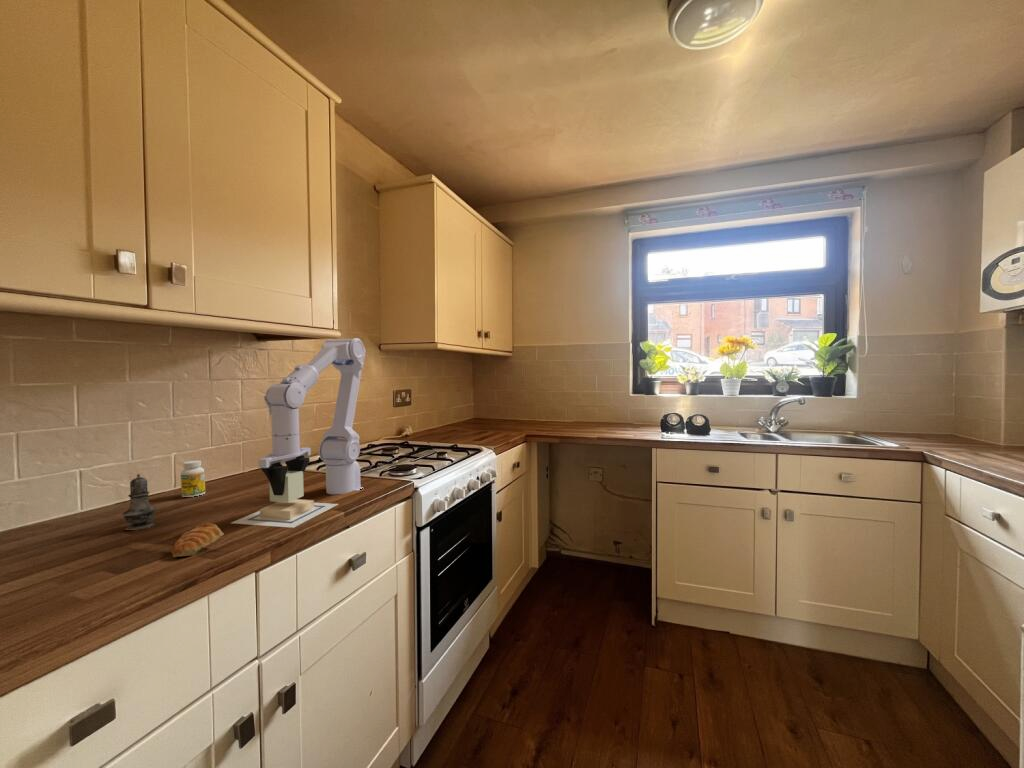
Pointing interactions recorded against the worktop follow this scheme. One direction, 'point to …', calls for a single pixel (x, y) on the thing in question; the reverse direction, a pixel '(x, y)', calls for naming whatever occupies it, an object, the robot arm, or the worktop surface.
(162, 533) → the worktop surface
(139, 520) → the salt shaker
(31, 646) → the worktop surface
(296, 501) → the maple plinth
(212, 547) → the worktop surface
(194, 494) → the supplement bottle
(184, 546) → the pastry
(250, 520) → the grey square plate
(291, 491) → the sage block
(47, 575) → the worktop surface
